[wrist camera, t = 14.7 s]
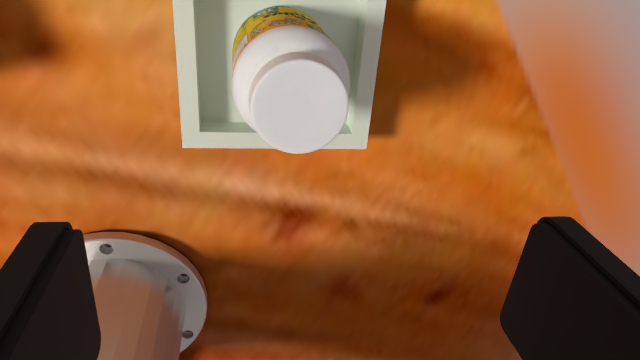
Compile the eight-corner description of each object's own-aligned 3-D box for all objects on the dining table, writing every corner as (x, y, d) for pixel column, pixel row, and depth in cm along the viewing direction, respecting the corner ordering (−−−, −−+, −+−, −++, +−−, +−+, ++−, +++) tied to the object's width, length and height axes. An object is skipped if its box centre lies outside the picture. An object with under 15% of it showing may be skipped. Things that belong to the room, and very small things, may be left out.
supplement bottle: (221, 80, 27) (213, 149, 19) (249, -13, 25) (254, 18, 17) (307, 108, 29) (335, 182, 20) (340, 23, 27) (386, 67, 18)
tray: (357, 133, 31) (366, 149, 29) (186, 131, 29) (182, 147, 27) (380, -51, 26) (392, -48, 24) (174, -67, 24) (167, -66, 22)
